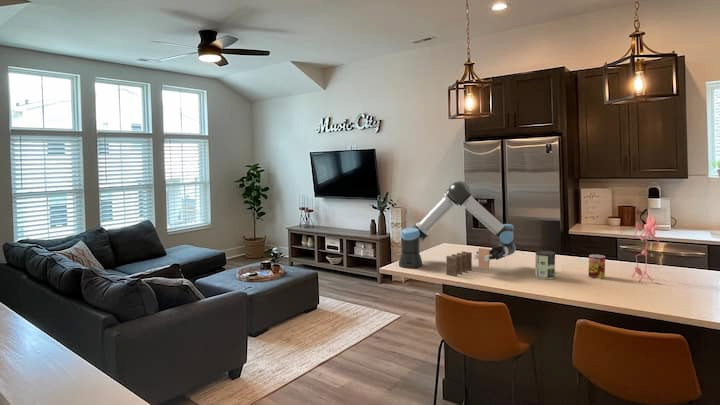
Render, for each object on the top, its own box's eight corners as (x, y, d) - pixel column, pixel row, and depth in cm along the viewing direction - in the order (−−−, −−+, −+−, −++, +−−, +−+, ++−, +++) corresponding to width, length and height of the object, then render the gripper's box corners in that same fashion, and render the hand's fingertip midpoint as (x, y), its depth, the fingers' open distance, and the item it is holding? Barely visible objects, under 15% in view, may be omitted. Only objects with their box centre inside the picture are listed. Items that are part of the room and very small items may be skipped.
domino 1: (455, 276, 244) (455, 257, 244) (446, 274, 249) (446, 256, 248) (456, 275, 246) (456, 257, 245) (448, 274, 250) (448, 255, 249)
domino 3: (465, 272, 252) (465, 254, 251) (456, 271, 256) (456, 253, 256) (466, 272, 253) (466, 254, 252) (458, 270, 258) (458, 252, 257)
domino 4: (470, 271, 256) (470, 253, 255) (461, 269, 260) (461, 251, 259) (471, 270, 257) (471, 252, 256) (462, 269, 261) (462, 251, 261)
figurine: (644, 285, 219) (648, 218, 216) (623, 273, 244) (627, 212, 241) (677, 287, 216) (682, 219, 213) (653, 275, 241) (657, 213, 238)
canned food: (585, 276, 240) (585, 255, 239) (595, 274, 243) (596, 253, 242) (597, 279, 233) (598, 257, 232) (607, 278, 236) (608, 256, 235)
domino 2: (460, 274, 248) (460, 256, 247) (451, 272, 253) (451, 254, 252) (461, 274, 249) (462, 255, 249) (453, 272, 254) (453, 254, 253)
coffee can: (552, 275, 244) (552, 250, 243) (556, 279, 234) (557, 254, 233) (533, 274, 246) (533, 250, 245) (537, 279, 236) (537, 253, 235)
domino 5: (487, 268, 242) (488, 249, 241) (478, 266, 246) (478, 248, 245) (489, 268, 243) (489, 249, 242) (479, 266, 247) (480, 247, 246)
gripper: (514, 260, 251) (495, 267, 235) (484, 255, 265) (465, 261, 248) (514, 247, 251) (496, 253, 234) (485, 243, 264) (465, 249, 247)
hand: (480, 257), depth 241 cm, fingers closed on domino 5, 6 cm apart
